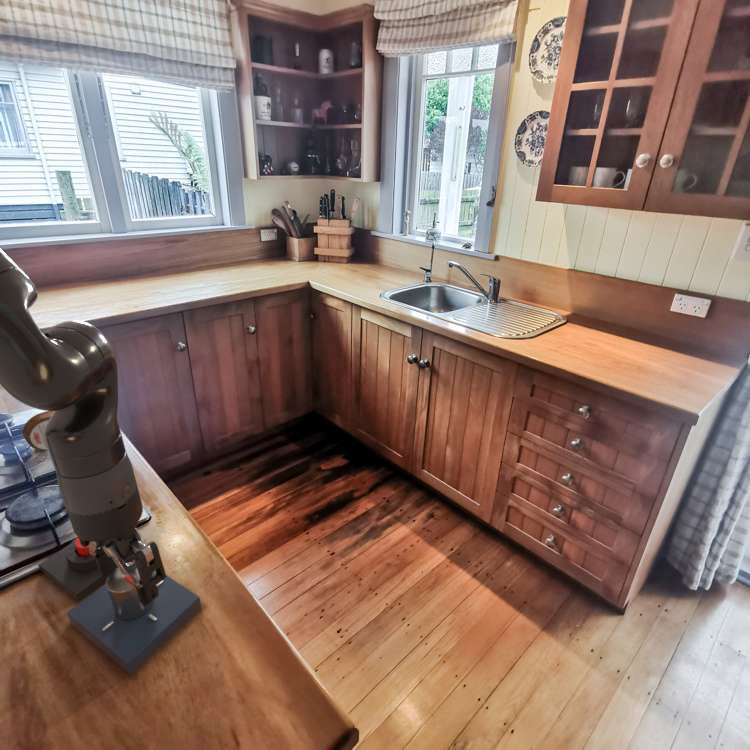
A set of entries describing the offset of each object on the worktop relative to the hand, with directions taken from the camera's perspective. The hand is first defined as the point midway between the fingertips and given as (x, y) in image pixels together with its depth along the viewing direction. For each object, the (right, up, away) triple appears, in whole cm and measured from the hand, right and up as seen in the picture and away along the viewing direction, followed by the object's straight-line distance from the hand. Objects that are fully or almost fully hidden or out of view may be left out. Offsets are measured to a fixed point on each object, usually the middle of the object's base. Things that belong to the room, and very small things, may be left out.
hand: (129, 585), depth 62 cm
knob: (0, -3, +2) cm, 4 cm away
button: (-11, +2, +10) cm, 15 cm away
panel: (0, -6, +3) cm, 7 cm away
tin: (-34, +13, +40) cm, 54 cm away
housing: (-11, -2, +11) cm, 16 cm away
